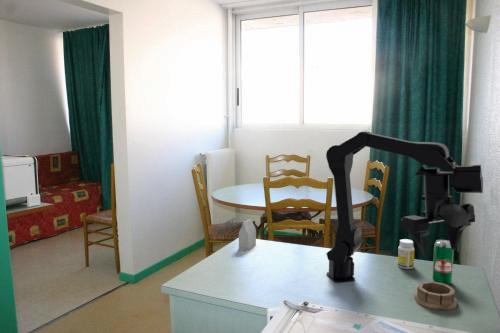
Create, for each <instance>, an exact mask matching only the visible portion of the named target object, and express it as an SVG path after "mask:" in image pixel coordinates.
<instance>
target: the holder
mask: <svg viewBox="0 0 500 333" xmlns="http://www.w3.org/2000/svg"><path fill="white" fill-rule="evenodd" d="M455 294H456V290H455V288H453V287H452V286H450V285H449V284H448V285H447V284H445V285H444V284H443V283H438V282H434V280H432V281H421V282H419V283H418V285H417V291H415V293H414V301H415V302H416V303H417V304H419V305H420V306H422V307H424V308H428V309H430V310H431V309H432V310H434V311H451V310H455V309H456V308H457V306H458V299H457V298H456V297H455Z"/></svg>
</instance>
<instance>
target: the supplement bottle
mask: <svg viewBox="0 0 500 333" xmlns="http://www.w3.org/2000/svg"><path fill="white" fill-rule="evenodd" d="M397 253H398V255H397V266H398V267H399V268H401V269H404V270H406V269H407V270H410V269H413V268H414V267H415V247H414V241H413V240H412V239H407V238H403V239H399V246H398V248H397Z"/></svg>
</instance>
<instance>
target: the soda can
mask: <svg viewBox="0 0 500 333" xmlns="http://www.w3.org/2000/svg"><path fill="white" fill-rule="evenodd" d="M454 252H455V251H454V250H453V249H451V245H450V241H449V239H448V240H447V239H437V240H435V243H434V246H433V263H432V281H433V282H438V283H443V284H444V285H445V284H447V285H448V286H449V285H450V284H452V282H453V269H454V268H453V267H454V266H453V265H454Z"/></svg>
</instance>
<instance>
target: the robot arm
mask: <svg viewBox="0 0 500 333" xmlns="http://www.w3.org/2000/svg"><path fill="white" fill-rule="evenodd" d="M366 147H367V148H371V149H376V150H380V151H384V152H389V153H393V154H397V155H401V156H405V157H408V158H411V159H412V160H413V161H416V162H417V163H420V164H422V165H421V166H420V168H419V169H418V170H417V171H416V172H415V173H414V174H415V176H423V184H424V187H423V188H424V195H421V198H420V199H421V201H424V206H425V208H424V211H421V213H422V214H421V216H419V215H415V214H414V215H406V216H403V217H402V218H401V219H400V228H401V229H405V231H407V232H409V234H410V235H411V236H412V238H413V239H414V241H415V244H416V245H417V247H418V249H419V250H420V252H421V255H423V256H427V253H428V242H427V241H428V239H427V238H428V235H429V234H430V232H431V230H428V229H429V228H430V225H434V224H435V225H436V224H441V223H445V225H446V230H447V236H448V241H450V245H451V249H453V250H456V249H457V247H458V244H459V242H460V238H461V235H462V233H463V232H464V231H465V229H466V228H468V227H469V226H471V225H472V223H474V222H476V215H475V208H474V205H473V204H471V203H469V202H467V203H463V204H456V203H455V198H454V195H453V196H452V195H450V188H451V189H453V191H455V193H457V194H460V193H461V194H463V193H464V194H465V193H466V194H483V193H484V176H483V170H482V165H481V164H473V165H458V164H457V163H456V161H455V160H454V159H453V158H452V157H451V156H450V151H449V148H448V147H447V146H446V145H445V144H444V143H441V142H435V141H434V142H433V141H432V142H430V141H429V142H428V141H410V140H405V139H401V138H396V137H391V136H387V135H382V134H379V133H374V132H371V131H369V130H368V131H367V130H366V131H360V132H358V133H357V134H356V135H354V136H353V137H351V138H349V139H347V140H346V141H344V142H342V143H339V144H336V145H331V146H330V147H329V148H328V149H327V150H326V155H325V158H326V161H327V164H328V168H329V171H330V172H331V174H332V176H333V183H334V194H335V205H336V206H335V207H336V216H337V228H336V232H335V236H334V245H333V248H331V249H330V250H328V251H327V252H326V258H327V260H328V271H327V272H326V273H325V274H326V276H328V278H330V279H331V280H332V281H333V282H334V283H341V282H350V281H356V278H355V276H354V275H355V262H354V258H353V257H352V256H353V255H354V254H355V252H357V251H358V250H359V249H360V248H361V245H362V243H363V242H364V239H363V236H362V234H363V233H362V232H363V229H362V227H358V228H357V226H356V224H355V220H354V219H355V218H354V208H353V197H352V185H351V184H352V183H351V172H352V168H353V162H354V156H355V155H356V154H358V153H360V151H361V150H363V149H365V148H366ZM426 166H427V167H426ZM440 170H442V171H440ZM449 176H450V179H449Z"/></svg>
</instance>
